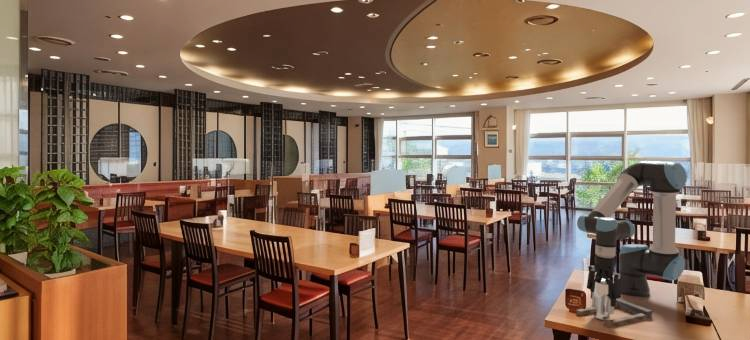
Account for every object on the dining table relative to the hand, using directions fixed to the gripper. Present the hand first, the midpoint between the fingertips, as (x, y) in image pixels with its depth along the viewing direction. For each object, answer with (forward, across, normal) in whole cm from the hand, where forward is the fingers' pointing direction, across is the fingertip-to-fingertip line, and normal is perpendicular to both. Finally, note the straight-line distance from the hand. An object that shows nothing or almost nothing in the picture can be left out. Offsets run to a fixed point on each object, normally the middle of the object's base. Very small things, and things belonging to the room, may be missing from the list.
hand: (602, 310), depth 180 cm
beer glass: (+3, 0, 0) cm, 3 cm away
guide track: (+4, 0, +7) cm, 8 cm away
